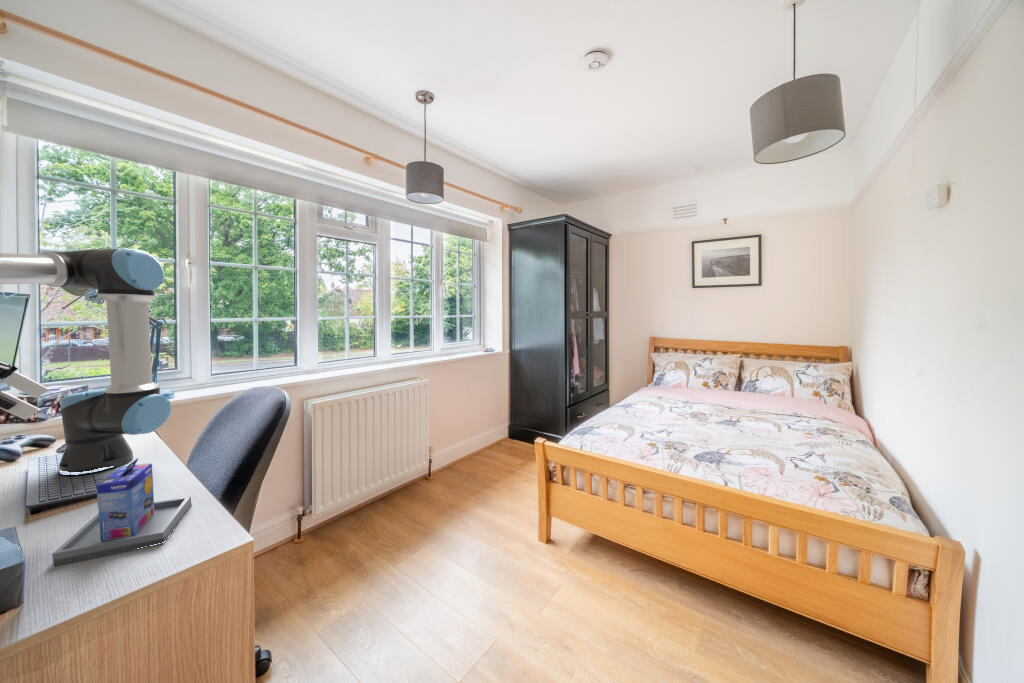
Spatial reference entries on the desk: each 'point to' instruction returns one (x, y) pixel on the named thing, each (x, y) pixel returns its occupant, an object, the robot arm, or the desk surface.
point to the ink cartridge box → (125, 501)
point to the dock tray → (151, 533)
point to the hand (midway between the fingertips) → (38, 403)
